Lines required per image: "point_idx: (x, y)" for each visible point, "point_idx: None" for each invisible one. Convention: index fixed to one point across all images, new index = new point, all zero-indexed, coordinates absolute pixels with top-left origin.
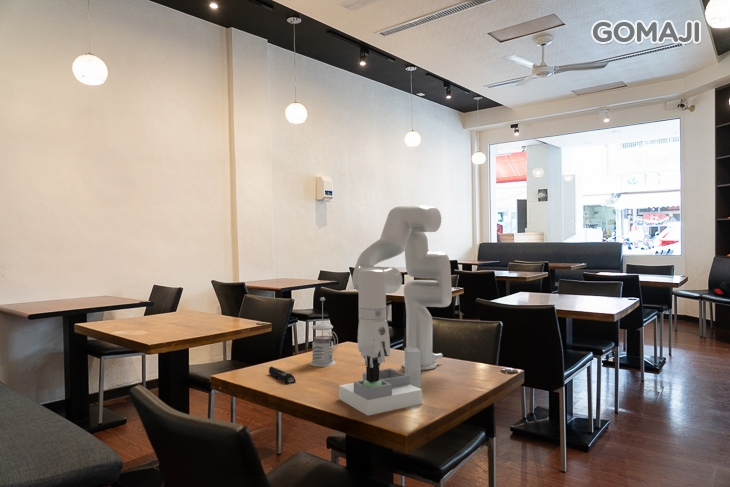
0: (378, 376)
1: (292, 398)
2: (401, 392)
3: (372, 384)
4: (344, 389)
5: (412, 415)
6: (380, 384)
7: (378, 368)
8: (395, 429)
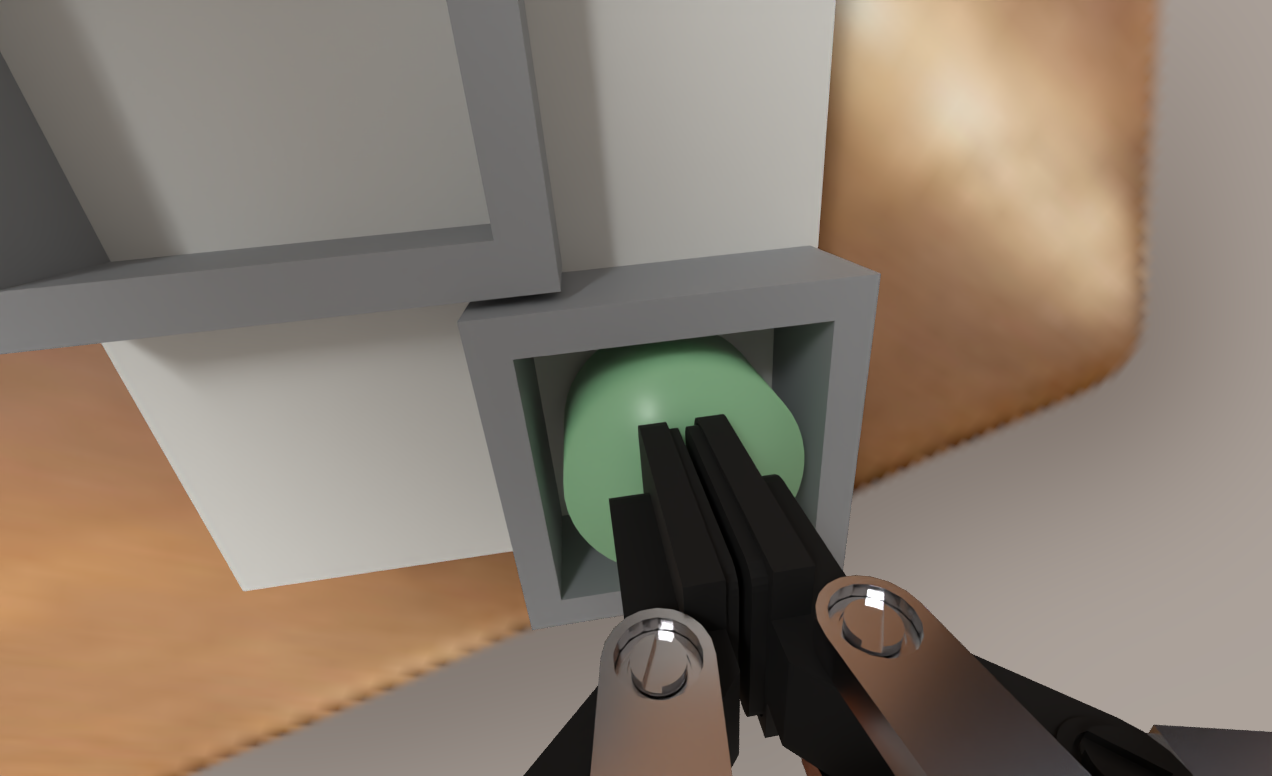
0: (739, 452)
1: (218, 735)
2: (786, 62)
3: None
4: (368, 562)
5: (956, 118)
6: (786, 409)
7: (791, 544)
8: (1047, 379)
